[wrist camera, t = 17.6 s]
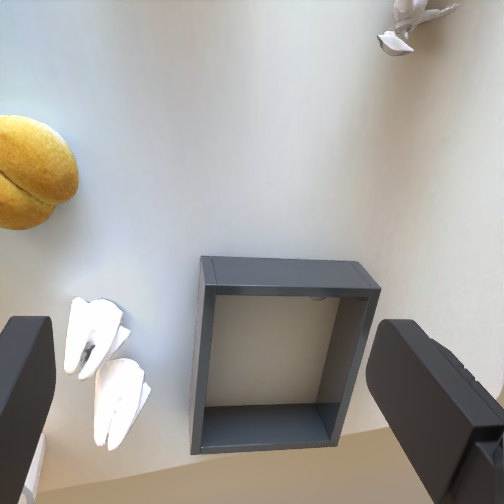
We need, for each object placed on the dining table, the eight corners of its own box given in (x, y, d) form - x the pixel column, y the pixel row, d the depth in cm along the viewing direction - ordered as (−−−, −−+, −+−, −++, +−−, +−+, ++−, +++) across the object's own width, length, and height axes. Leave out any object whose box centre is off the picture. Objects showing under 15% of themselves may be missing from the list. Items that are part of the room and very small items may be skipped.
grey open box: (188, 414, 49) (190, 455, 44) (200, 255, 40) (205, 284, 36) (321, 409, 52) (337, 446, 47) (358, 261, 44) (382, 288, 39)
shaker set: (153, 380, 46) (149, 471, 36) (115, 391, 46) (99, 486, 36) (113, 287, 40) (95, 365, 30) (69, 299, 40) (36, 381, 30)
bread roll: (100, 169, 36) (92, 183, 32) (23, 236, 37) (8, 256, 33) (16, 86, 32) (-3, 91, 28) (-66, 162, 33) (-94, 177, 30)
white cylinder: (-29, 427, 44) (-62, 489, 38) (38, 411, 45) (16, 470, 39) (-1, 470, 48) (-27, 534, 41) (61, 454, 48) (45, 515, 42)
